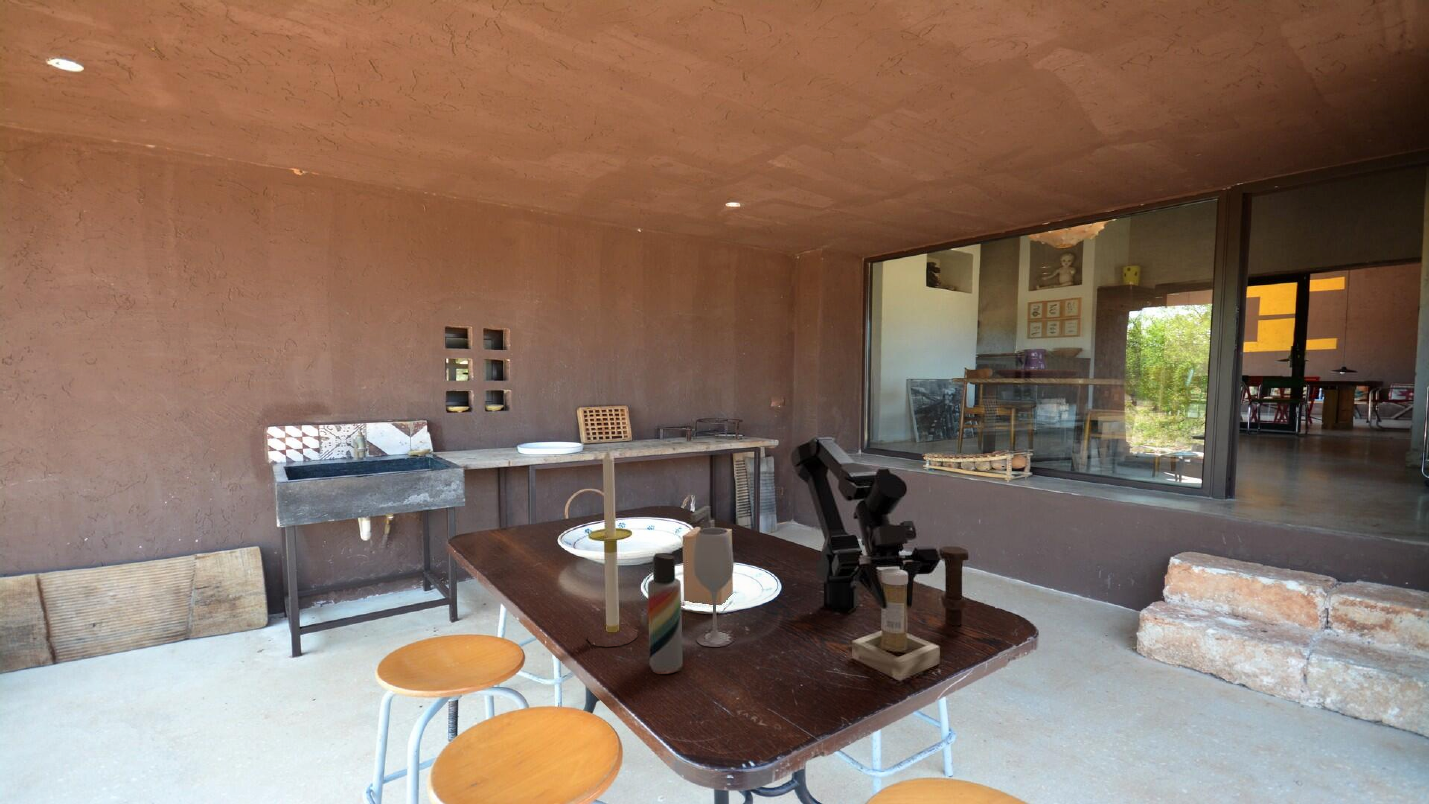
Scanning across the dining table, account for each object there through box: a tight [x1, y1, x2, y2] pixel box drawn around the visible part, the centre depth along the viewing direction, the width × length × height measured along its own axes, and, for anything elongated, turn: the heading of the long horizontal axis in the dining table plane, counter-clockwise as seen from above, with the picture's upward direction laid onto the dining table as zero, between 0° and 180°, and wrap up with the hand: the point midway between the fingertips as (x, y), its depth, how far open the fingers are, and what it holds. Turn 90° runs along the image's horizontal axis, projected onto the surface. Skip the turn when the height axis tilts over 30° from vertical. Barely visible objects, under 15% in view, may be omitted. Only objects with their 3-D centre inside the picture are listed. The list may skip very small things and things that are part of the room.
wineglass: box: [694, 527, 735, 644], centre depth 119 cm, size 8×8×21 cm
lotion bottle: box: [647, 552, 683, 671], centre depth 108 cm, size 6×6×20 cm
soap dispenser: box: [682, 505, 734, 605], centre depth 136 cm, size 13×9×22 cm
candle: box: [587, 448, 633, 632], centre depth 121 cm, size 10×10×38 cm
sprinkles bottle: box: [880, 568, 908, 653], centre depth 110 cm, size 5×5×14 cm
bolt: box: [938, 545, 969, 626], centre depth 125 cm, size 6×5×15 cm
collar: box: [851, 629, 941, 682], centre depth 110 cm, size 10×10×3 cm
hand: (897, 607), depth 108 cm, fingers closed on sprinkles bottle, 4 cm apart
